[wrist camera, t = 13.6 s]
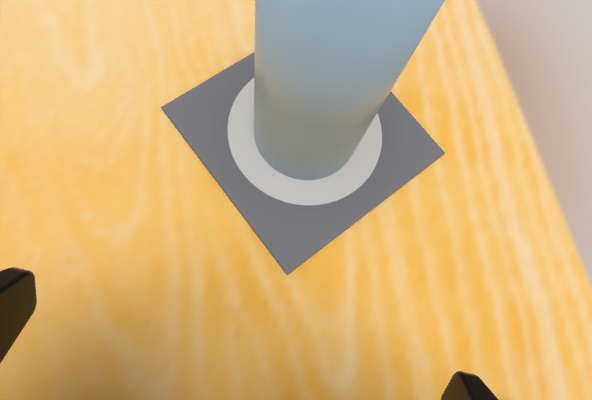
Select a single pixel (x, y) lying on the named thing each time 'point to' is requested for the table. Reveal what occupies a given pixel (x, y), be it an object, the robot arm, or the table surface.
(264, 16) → the pale blue capsule
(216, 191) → the table surface
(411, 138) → the pad
